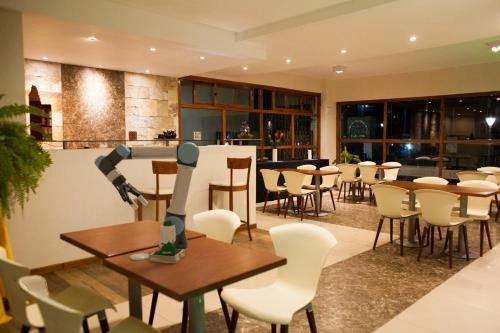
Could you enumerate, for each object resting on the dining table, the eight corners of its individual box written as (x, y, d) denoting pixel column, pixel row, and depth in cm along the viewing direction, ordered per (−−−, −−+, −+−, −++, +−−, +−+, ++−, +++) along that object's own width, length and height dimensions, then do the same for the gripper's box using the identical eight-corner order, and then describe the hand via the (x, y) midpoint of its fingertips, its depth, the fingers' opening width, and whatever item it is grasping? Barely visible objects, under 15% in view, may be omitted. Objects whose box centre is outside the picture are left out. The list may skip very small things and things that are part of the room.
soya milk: (175, 255, 217) (175, 220, 216) (175, 260, 208) (175, 224, 207) (159, 256, 215) (159, 221, 214) (158, 261, 206) (159, 224, 205)
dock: (160, 253, 220) (160, 247, 220) (184, 255, 218) (184, 249, 217) (149, 261, 206) (149, 254, 206) (174, 263, 203) (175, 256, 203)
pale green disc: (135, 253, 219) (135, 252, 219) (153, 255, 217) (153, 254, 217) (126, 259, 208) (126, 258, 208) (145, 261, 206) (145, 260, 206)
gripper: (122, 181, 229) (145, 207, 228) (100, 185, 204) (127, 215, 203) (130, 172, 228) (154, 199, 227) (110, 176, 203) (137, 205, 202)
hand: (141, 206), depth 215 cm, fingers open, 13 cm apart
